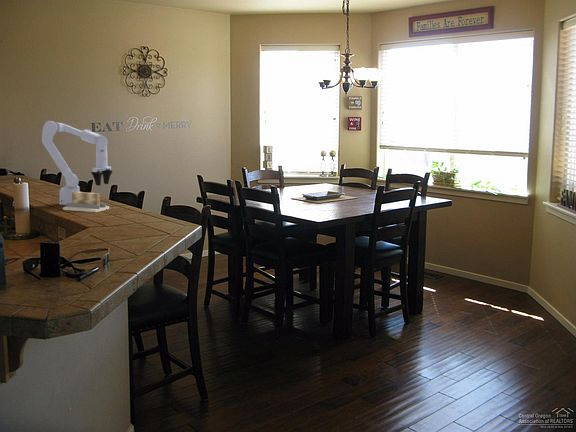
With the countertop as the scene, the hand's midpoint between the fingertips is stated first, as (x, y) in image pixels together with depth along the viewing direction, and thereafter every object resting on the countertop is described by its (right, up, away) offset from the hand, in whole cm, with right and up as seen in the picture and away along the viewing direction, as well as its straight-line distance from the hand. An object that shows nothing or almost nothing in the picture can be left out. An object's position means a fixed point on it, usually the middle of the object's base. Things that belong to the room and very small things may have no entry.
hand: (102, 184), depth 313 cm
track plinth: (-2, -13, -19) cm, 24 cm away
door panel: (-2, -12, -20) cm, 23 cm away
